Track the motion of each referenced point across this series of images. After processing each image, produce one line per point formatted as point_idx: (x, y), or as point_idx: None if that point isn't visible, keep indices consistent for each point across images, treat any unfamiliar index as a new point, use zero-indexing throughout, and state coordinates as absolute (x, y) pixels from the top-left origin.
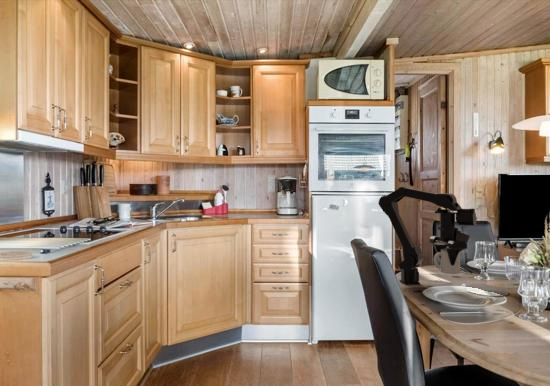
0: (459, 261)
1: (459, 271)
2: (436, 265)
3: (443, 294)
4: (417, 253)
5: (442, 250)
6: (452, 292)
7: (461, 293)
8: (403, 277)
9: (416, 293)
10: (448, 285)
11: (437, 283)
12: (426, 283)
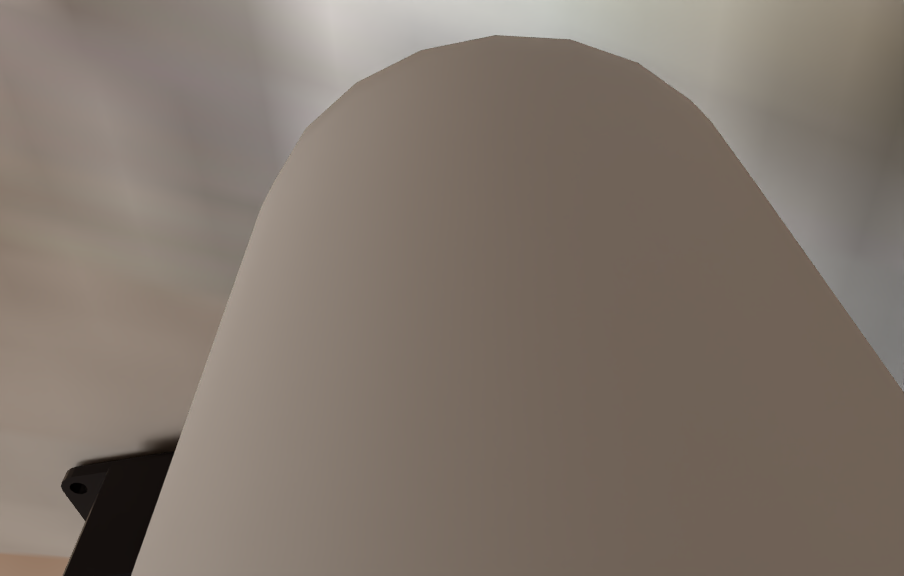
0: (837, 302)
1: (698, 110)
2: None
3: (852, 309)
4: None
5: None
6: (777, 161)
7: (874, 38)
8: None
9: None
10: (276, 65)
11: (150, 205)
12: (194, 353)
